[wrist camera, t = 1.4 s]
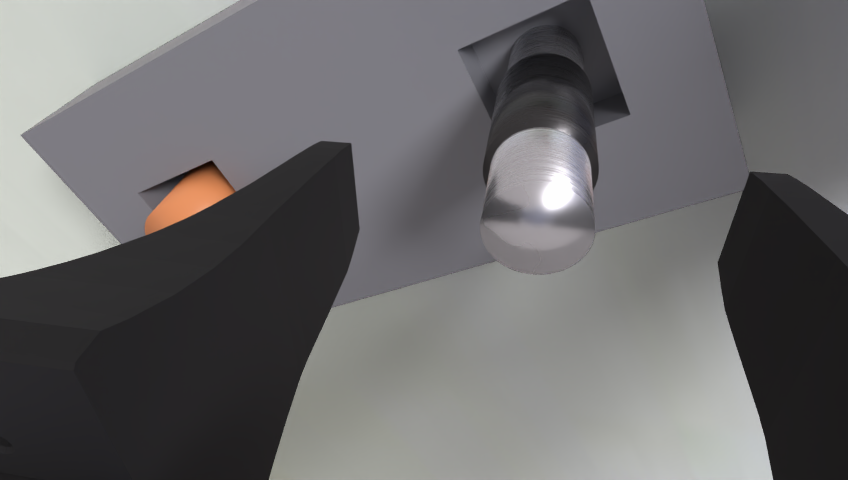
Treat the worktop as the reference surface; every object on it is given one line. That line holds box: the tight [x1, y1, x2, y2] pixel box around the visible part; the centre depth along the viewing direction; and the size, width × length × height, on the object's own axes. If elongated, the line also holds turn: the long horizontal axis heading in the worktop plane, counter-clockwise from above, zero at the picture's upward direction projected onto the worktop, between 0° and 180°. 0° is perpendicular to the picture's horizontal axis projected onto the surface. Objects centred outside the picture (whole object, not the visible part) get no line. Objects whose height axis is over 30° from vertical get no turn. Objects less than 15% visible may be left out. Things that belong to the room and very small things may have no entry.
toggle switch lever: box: [480, 25, 599, 274], centre depth 14 cm, size 2×2×8 cm
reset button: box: [145, 160, 236, 235], centre depth 21 cm, size 3×3×3 cm
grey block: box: [21, 0, 749, 308], centre depth 20 cm, size 20×10×4 cm, turn 117°
